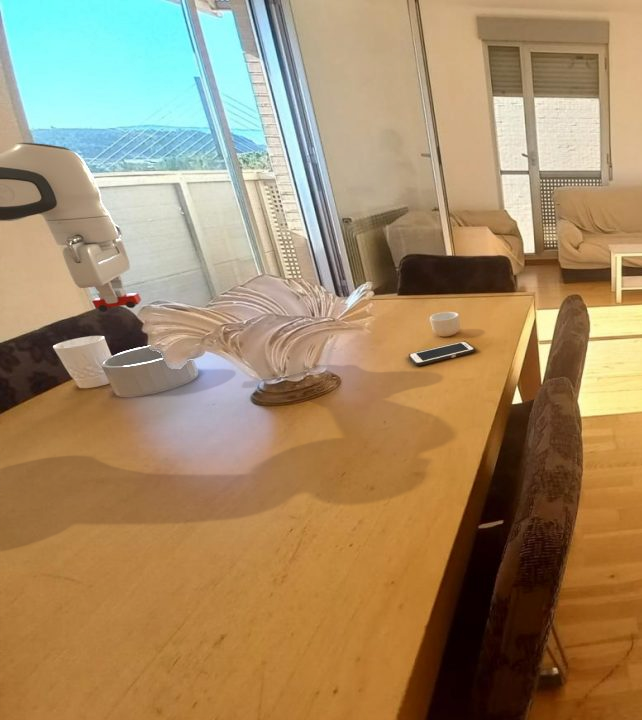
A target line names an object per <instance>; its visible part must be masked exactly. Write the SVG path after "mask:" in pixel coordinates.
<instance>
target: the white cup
mask: <svg viewBox="0 0 642 720" xmlns="http://www.w3.org/2000/svg"><path fill="white" fill-rule="evenodd" d="M52 348H53V350H54V352H55V353H56V355H57V357H58V358H59V360H60V361H61V363H62V366H63V367H64V368H65V370H66V372H67V373H68V374H69V376H70V378H71V379H73V382H75V385H76V387H78V388H79V389H93V388H98V387H102V386H106V385H109V384H110V382H109V380H108V378H107V376H106V374H105V372H104V370H103V368H102V366H101V364H100V363H101V362H102V361H103V360H105V359H107V358H109V357H111V356H113V355H112V353H111V351H110V347H109V346H108V343H107V341H106V338H105V336H104V335H89V336H83V337H77V338H72V339H67V340H64V341H61V342H58V343H56V344H54V345H53V346H52Z"/></svg>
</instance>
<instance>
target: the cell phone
mask: <svg viewBox="0 0 642 720" xmlns="http://www.w3.org/2000/svg"><path fill="white" fill-rule="evenodd" d="M475 352H476V348H475V347H474V346H473V345H471V343H469V342H467V341H465V340H461V341H458V342H453V343H449V344H445V345H441V346H437V347H431V348H428V349H423V350H420V351H415V352H410V353H408V359H409V360H410V361H411V362H412V363H413V364H414V366H416V367H421V366H424V365H428V364H433V363H437V362H440V361H446V360H449V359H453V358H457V357H461V356H465V355H469V354H472V353H475Z"/></svg>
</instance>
